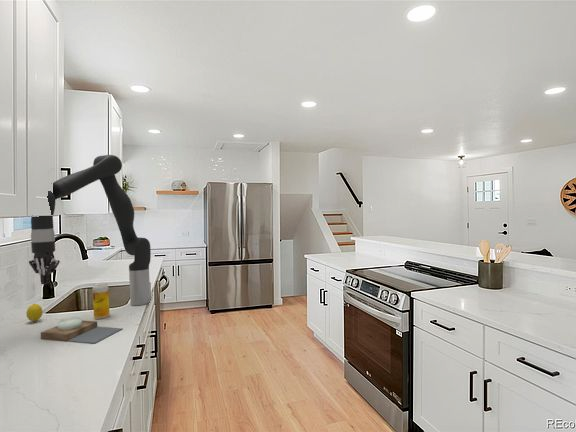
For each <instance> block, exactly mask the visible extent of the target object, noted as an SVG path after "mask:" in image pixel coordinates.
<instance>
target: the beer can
mask: <svg viewBox="0 0 576 432" xmlns="http://www.w3.org/2000/svg"><path fill="white" fill-rule="evenodd" d="M109 294H110V293H109V284H108V282H104V281H103V282H97V283H96V282H95V283H93V286H92V303H93V304H92V306H93V318H95V319H96V320H103V319H107V318H108V317H109V316H110V295H109Z"/></svg>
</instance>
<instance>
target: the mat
mask: <svg viewBox="0 0 576 432" xmlns="http://www.w3.org/2000/svg"><path fill="white" fill-rule="evenodd" d="M122 330H124V329H123V327H109V326H97V327H96V328H94V329H92V330H89V331H87V332H85V333H83V334H81V335H79V336H76V337H74V338H72V339H70V340H68V341H67V342H69V343H79V344H80V343H81V344H91V345H92V344H93V345H95V344H98V343H99V342H101V341H103V340H105V339H107V338H109V337H111V336H112V335H114V334H116V333H119V332H121V331H122Z"/></svg>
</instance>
